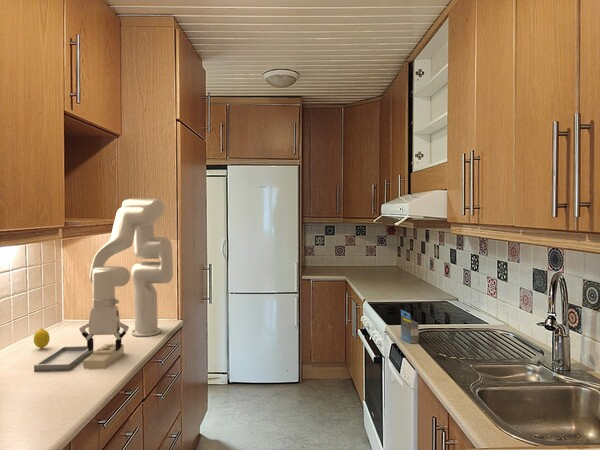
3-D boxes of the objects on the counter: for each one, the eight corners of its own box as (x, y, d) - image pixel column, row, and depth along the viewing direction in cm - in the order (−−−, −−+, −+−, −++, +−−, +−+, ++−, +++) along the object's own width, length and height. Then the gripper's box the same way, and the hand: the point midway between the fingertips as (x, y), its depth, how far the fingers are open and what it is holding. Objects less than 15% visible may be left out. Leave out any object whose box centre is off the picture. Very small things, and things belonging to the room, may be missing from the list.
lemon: (50, 346, 200) (50, 326, 200) (48, 350, 195) (48, 329, 195) (35, 347, 198) (34, 327, 198) (32, 351, 193) (32, 331, 193)
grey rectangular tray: (62, 352, 192) (62, 346, 192) (93, 351, 192) (93, 345, 192) (34, 371, 169) (33, 365, 169) (68, 370, 170) (68, 364, 170)
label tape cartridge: (419, 343, 201) (419, 313, 201) (410, 344, 200) (410, 313, 200) (408, 337, 210) (408, 308, 210) (400, 338, 209) (400, 309, 209)
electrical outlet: (83, 357, 172) (105, 343, 190) (83, 369, 172) (105, 354, 190) (103, 357, 172) (123, 343, 190) (104, 369, 172) (124, 354, 190)
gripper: (131, 301, 185) (131, 347, 185) (83, 301, 184) (84, 347, 185) (125, 304, 178) (125, 352, 178) (75, 305, 177) (76, 353, 177)
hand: (104, 350), depth 181 cm, fingers open, 9 cm apart
